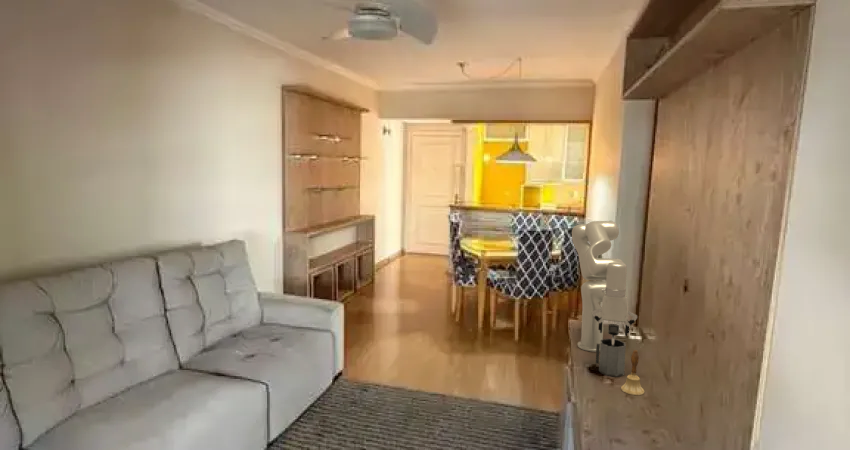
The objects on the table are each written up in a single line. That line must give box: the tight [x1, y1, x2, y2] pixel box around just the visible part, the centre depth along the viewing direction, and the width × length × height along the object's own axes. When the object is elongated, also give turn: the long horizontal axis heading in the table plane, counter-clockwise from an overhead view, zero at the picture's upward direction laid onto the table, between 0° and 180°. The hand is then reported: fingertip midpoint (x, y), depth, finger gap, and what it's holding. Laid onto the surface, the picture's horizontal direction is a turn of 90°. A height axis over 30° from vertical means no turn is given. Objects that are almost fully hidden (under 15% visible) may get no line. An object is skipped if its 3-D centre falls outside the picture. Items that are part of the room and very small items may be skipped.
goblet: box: [607, 323, 620, 347], centre depth 204 cm, size 7×7×16 cm
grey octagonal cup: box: [595, 338, 627, 378], centre depth 205 cm, size 10×11×12 cm
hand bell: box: [620, 349, 645, 396], centre depth 188 cm, size 8×8×16 cm
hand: (613, 333), depth 203 cm, fingers open, 9 cm apart
